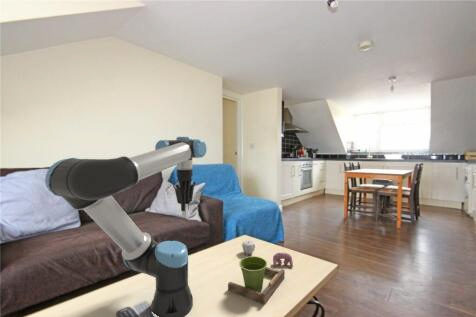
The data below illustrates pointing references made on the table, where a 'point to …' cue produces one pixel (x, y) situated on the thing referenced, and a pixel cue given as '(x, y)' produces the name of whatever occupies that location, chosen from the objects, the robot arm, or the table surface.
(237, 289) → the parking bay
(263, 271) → the plant pot
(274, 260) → the video game controller
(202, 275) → the table surface
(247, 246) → the apple
